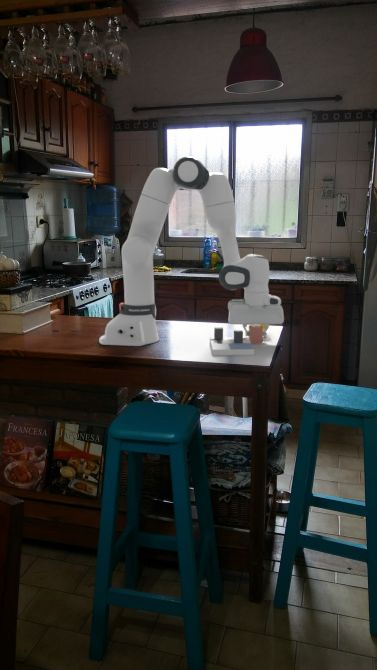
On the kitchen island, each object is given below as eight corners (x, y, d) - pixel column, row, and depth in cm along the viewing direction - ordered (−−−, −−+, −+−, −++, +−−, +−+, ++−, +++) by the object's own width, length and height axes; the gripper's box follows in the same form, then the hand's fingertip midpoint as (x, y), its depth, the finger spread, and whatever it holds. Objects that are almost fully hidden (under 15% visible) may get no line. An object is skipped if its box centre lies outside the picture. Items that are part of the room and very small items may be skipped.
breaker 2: (234, 343, 189) (234, 331, 188) (233, 341, 192) (233, 330, 191) (242, 343, 189) (242, 331, 188) (241, 341, 192) (242, 330, 191)
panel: (212, 355, 182) (212, 348, 181) (209, 343, 199) (210, 337, 198) (254, 354, 182) (254, 348, 182) (247, 342, 199) (247, 336, 198)
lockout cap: (250, 343, 198) (250, 326, 197) (248, 340, 202) (248, 324, 201) (262, 343, 198) (262, 326, 197) (260, 340, 203) (260, 324, 201)
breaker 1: (214, 339, 194) (214, 328, 194) (214, 338, 197) (214, 327, 196) (223, 339, 195) (223, 328, 194) (222, 338, 197) (222, 327, 196)
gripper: (228, 300, 193) (228, 337, 197) (285, 300, 194) (284, 337, 197) (227, 297, 200) (226, 334, 203) (282, 297, 200) (280, 333, 203)
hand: (255, 335), depth 200 cm, fingers closed on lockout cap, 4 cm apart
